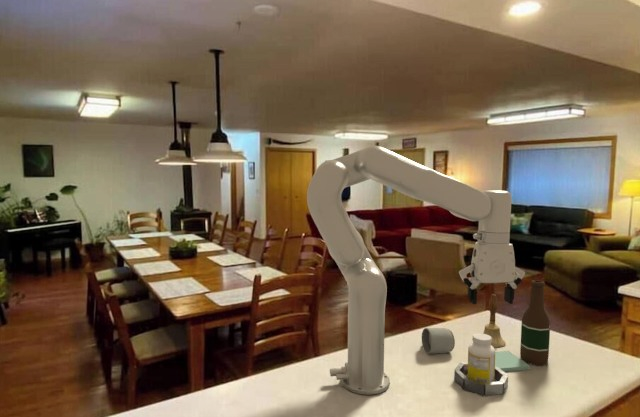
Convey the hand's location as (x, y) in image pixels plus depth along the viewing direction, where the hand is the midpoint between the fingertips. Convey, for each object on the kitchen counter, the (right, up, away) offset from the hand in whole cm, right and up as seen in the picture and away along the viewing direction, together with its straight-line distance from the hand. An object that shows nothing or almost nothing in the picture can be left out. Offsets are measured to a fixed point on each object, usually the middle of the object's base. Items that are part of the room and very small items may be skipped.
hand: (490, 302), depth 108 cm
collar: (-2, -22, +1) cm, 22 cm away
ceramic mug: (-9, -20, +21) cm, 30 cm away
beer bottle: (+19, -21, +14) cm, 31 cm away
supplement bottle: (-2, -22, +1) cm, 22 cm away
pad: (+9, -21, +13) cm, 26 cm away
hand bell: (+12, -20, +27) cm, 35 cm away
